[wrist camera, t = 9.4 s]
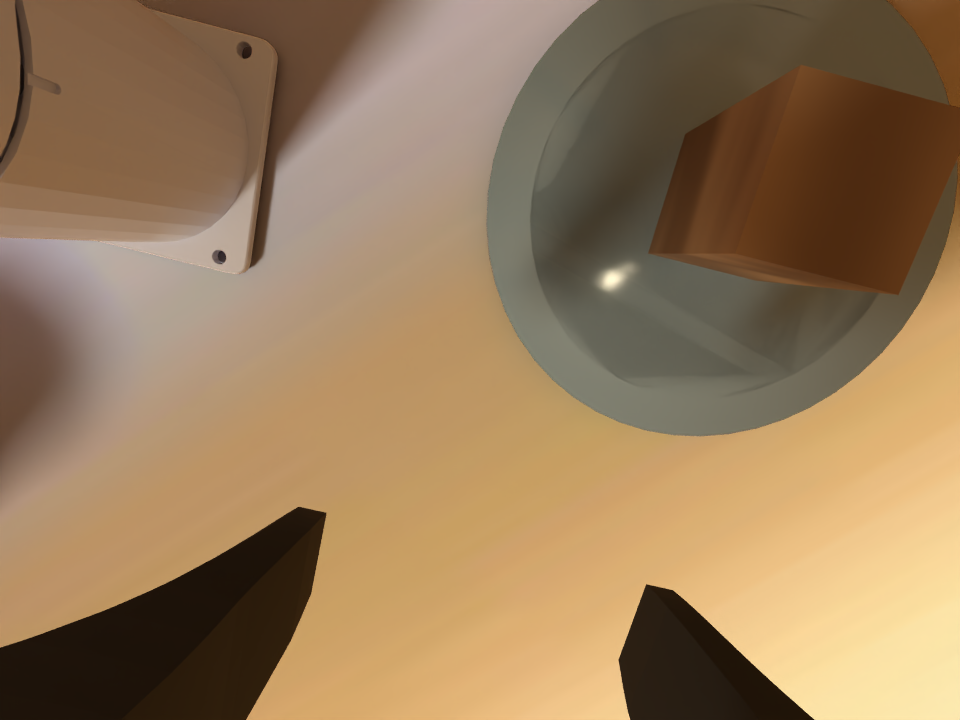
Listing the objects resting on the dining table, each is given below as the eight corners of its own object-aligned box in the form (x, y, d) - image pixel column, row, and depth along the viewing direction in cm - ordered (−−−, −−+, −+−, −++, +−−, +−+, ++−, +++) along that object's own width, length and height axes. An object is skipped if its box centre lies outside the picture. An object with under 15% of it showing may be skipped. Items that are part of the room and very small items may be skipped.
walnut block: (647, 253, 17) (734, 253, 11) (684, 134, 16) (800, 64, 10) (755, 280, 17) (898, 294, 11) (798, 163, 16) (977, 112, 10)
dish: (444, 374, 19) (441, 381, 18) (552, -87, 16) (557, -115, 14) (822, 464, 20) (843, 477, 19) (1005, 41, 16) (1045, 24, 15)
